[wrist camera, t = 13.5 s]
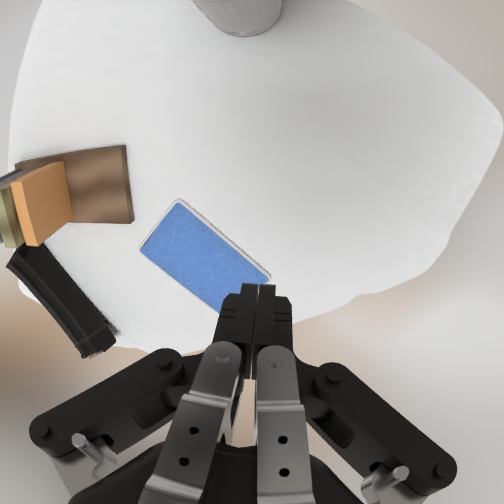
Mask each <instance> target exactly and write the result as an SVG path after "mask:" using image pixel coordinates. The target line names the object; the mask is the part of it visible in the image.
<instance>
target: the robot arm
mask: <svg viewBox="0 0 504 504" xmlns="http://www.w3.org/2000/svg"><path fill="white" fill-rule="evenodd" d="M191 1H192V2H193V3H194V4H195V5H196V6H197V7H198V8H199V9H200V10H201V11H202V12H203V13H204V14H205V15H206V16H207V17H208V18H209V19H210V20H211V21H212V23H213V24H214V25H215V26H216V27H217V28H218V29H220V30H221V31H222V32H225V33H227V34H229V35H233V36H240V37H247V36H254V35H258V34H260V33H263V32H265V31H267V30H268V29H270V28H271V27H272V26H273V25H274V24H275V23H276V22H277V20H278V19H279V17H280V14H281V11H282V0H191ZM275 290H276V285H270V284H260V285H259V294H258V284H254V283H242V286H241V291H240V294H237V293H229V294H228V295H227V296H226V297H225V299H224V300H223V302H222V306H221V310H220V314H219V318H218V322H217V326H216V330H215V334H214V337H213V341H212V344H211V345H209V346H208V347H207V348H206V350H205V351H204V352H203V353H200V354H197V355H192V356H184V357H181V355H180V354H179V353H178V352H177V351H175V350H173V349H169V348H162V349H158V350H156V351H154V352H152V353H150V354H149V355H147V356H145V357H144V358H142V359H140V360H139V361H137V362H135V363H133V364H132V365H130V366H128V367H126V368H125V369H123V370H121V371H120V372H118V373H116V374H115V375H113V376H111V377H109V378H107V379H105V380H104V381H102V382H100V383H98V384H97V385H95V386H93V387H91V388H89V389H88V390H86V391H84V392H82V393H80V394H78V395H77V396H75V397H73V398H71V399H69V400H67V401H66V402H64V403H62V404H60V405H58V406H57V407H54V408H52V409H51V410H49V411H47V412H45V413H43V414H41V415H39V416H37V417H36V418H35V419H34V420H33V421H32V422H31V425H30V428H29V434H30V438H31V440H32V441H33V443H34V444H35V445H37V446H38V447H39V448H41V449H42V450H43V451H44V452H45V453H46V454H48V455H49V456H50V458H51V459H52V461H53V463H54V465H55V467H56V469H57V471H58V473H59V475H60V477H61V479H62V480H63V482H64V484H65V486H66V488H67V489H68V491H69V492H70V494H71V496H72V498H71V499H70V501H69V503H68V504H364V503H363V502H361V501H360V499H359V498H358V497H356V495H354V493H352V492H351V490H350V489H349V488H348V487H347V486H345V484H344V483H343V482H342V481H341V480H340V479H339V478H338V477H337V476H336V475H335V474H334V473H333V472H332V471H331V469H330V468H329V467H328V466H327V465H326V464H324V463H323V462H322V461H321V460H319V459H318V458H316V457H314V456H312V455H310V454H309V447H308V438H307V429H306V428H307V427H306V421H307V422H308V424H309V425H310V426H312V428H313V429H314V430H315V431H316V432H317V433H318V434H319V435H320V436H321V437H322V438H323V439H324V440H325V441H326V442H327V443H328V444H329V445H330V446H331V447H332V448H333V449H334V450H335V451H336V452H337V453H338V454H339V455H340V456H341V457H342V458H343V459H344V460H345V461H346V462H347V463H348V464H349V465H350V466H351V467H352V468H353V469H355V470H356V471H357V472H358V473H359V474H360V475H361V476H362V477H363V478H364V480H363V481H362V484H361V493H362V495H363V497H364V498H365V499H366V501H367V503H368V504H422V503H423V502H424V500H426V498H427V497H428V496H429V495H431V494H433V493H435V492H437V491H439V490H441V489H443V488H445V487H447V486H449V485H450V484H451V483H452V482H453V480H454V479H455V477H456V474H457V465H456V462H455V460H454V458H453V457H452V456H451V455H449V454H448V453H447V452H445V451H444V450H443V449H442V448H441V447H439V446H438V445H437V444H436V443H435V442H433V441H432V440H431V439H430V438H428V437H427V436H426V435H425V434H424V433H422V432H421V431H420V430H419V429H418V428H416V427H415V426H414V425H413V424H412V423H410V422H409V421H408V420H407V419H406V418H405V417H403V416H402V415H401V414H400V413H399V412H397V411H396V410H395V409H394V408H393V407H391V406H390V405H389V404H388V403H387V402H386V401H385V400H383V399H382V398H381V397H380V396H379V395H378V394H376V393H375V392H374V391H373V390H372V389H371V388H369V387H368V386H367V385H366V384H365V383H364V382H362V381H361V380H360V379H359V378H358V377H357V376H356V375H354V374H353V373H352V372H351V371H350V370H349V369H348V368H346V367H345V366H343V365H341V364H339V363H334V362H333V363H332V362H330V363H325V364H323V365H321V366H320V367H315V366H312V365H308V364H306V363H304V362H302V361H300V360H299V359H298V358H297V357H296V355H295V354H294V352H293V337H292V305H291V303H290V301H289V300H288V298H287V297H281V296H275ZM251 365H252V379H254V380H256V382H255V400H254V446H249V447H242V448H238V447H234V446H231V443H232V436H233V430H234V426H235V421H236V417H237V413H238V409H239V404H240V400H241V395H242V391H243V387H244V379H250V373H251ZM171 420H173V421H172V424H171V426H170V429H169V432H168V434H167V437H166V440H165V441H163V442H161V443H158V444H156V445H154V446H152V447H150V448H149V449H147V450H146V451H144V452H143V453H141V454H140V455H138V456H137V457H135V458H134V459H132V460H131V461H129V462H128V463H126V464H125V465H123V466H122V467H120V468H118V469H117V470H115V471H114V472H112V473H110V472H111V471H112V470H113V469H114V468H115V466H116V464H117V456H116V455H117V454H118V453H121V452H122V451H124V450H125V449H127V448H129V447H130V446H132V445H134V444H135V443H137V442H139V441H140V440H142V439H143V438H145V437H147V436H148V435H150V434H151V433H153V432H154V431H156V430H158V429H159V428H160V427H162V426H164V425H165V424H166V423H168V422H170V421H171ZM108 473H110V474H109V475H108Z"/></svg>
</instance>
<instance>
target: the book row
mask: <svg viewBox="0 0 504 504" xmlns="http://www.w3.org/2000/svg"><path fill="white" fill-rule="evenodd" d="M60 161H64V167H65V174H66V180H67V186H68V191H69V196H70V201H71V206H72V211H73V216H74V218H73V219H71V220H70V221H69V222H73V223H114V224H131V223H132V222H133V221H134V215H133V208H132V201H131V194H130V186H129V178H128V168H127V158H126V147H125V145H123V146H114V147H105V148H97V149H89V150H82V151H76V152H69V153H63V154H58V155H52V156H47V157H42V158H37V159H32V160H27V161H23V162H19V163H17V164H15V170H14V171H12V172H10V173H8V174H6V175H4V176H2V177H0V243H2V242H4V244H5V247H8V248H16V249H17V248H18V247H19V246H21V245H22V244H23V243H24V242H25V238H24V235H23V232H22V229H21V225H20V222H19V218H18V214H17V210H16V206H15V202H14V198H13V193H12V189H11V184H10V183H11V182H13V181H15V180H17V179H19V178H21V177H23V176H25V175H27V174H29V173H31V172H33V171H35V170H37V169H39V168H41V167H43V166H46V165H48V164H50V163H53V162H60Z"/></svg>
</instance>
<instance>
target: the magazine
mask: <svg viewBox="0 0 504 504" xmlns="http://www.w3.org/2000/svg"><path fill="white" fill-rule="evenodd" d="M6 268H8V269H9V270H11V271H12V272H13V273H14V274H15V275H16V276H17V277H18V278H19V279H20V280H21V281H22V282H23V283H24V284H25V285H26V286H27V287H28V289H29V290H30V291H31V292H32V293H33V295H34V296H35V297H36V298H37V299H38V300H39V301H40V302H41V304H42V305H43V306H44V307H45V308H46V309H47V310H48V312H49V313H50V314H51V315H52V316H53V318H54V319H55V320H56V321H57V323H58V324H59V325H60V326H61V328H62V329H63V330H64V332H65V333H66V334H67V335H68V337H69V338H70V339H71V341H72V342H73V344H74V345H75V347H76V348H77V349H78V350H79V351H80V353H81V357H82V359H84V358H87V357H88V356H89V355H91V356H90V357H89V359H91V358H93V357H95V356H97V355H98V354H100V353H102V352H105V351H106V350H108V349H109V348H110V347H111V346H112V345H113V344H115V343H116V338H115V337H114V335H113V334H112V332H111V331H110V329H109V328H108V326H107V324H109V323H108V322H106V323H105V322H104V320H103V319H102V318H101V316H100V315H99V314H98V312H97V311H96V309H95V308H94V307H93V305H92V304H91V302H90V301H89V299H88V298H87V297H86V295H85V294H84V293H83V292H82V290H81V289H80V288H79V287H78V285H77V284H76V283H75V282H74V281H73V279H72V278H71V277H70V276H69V275H68V273H67V272H66V271H65V270H64V269H63V267H62V266H61V265H60V264H59V263H58V262H57V260H56V259H55V258H54V257H53V256H52V255H51V254H50V253H49V252H48V251H47V249H46V248H45V247H44V246H43V245H42V244H40V245H39V246H28V245H26V242H24V243H23V244H22V245H21V246H19V247H18V248H17V249H16V251H15V252H14V254H13V256H12V258H11V259H10V261H9V263H8V264H7V265H6Z"/></svg>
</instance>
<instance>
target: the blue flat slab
mask: <svg viewBox="0 0 504 504" xmlns="http://www.w3.org/2000/svg"><path fill="white" fill-rule="evenodd" d="M139 251H140V253H141V254H142V255H144V256H145V257H146V258H147V259H148V260H150V261H151V262H152V263H153V264H155V265H156V266H157V267H158V268H160V269H161V270H162V271H163V272H165V273H166V274H167V275H168V276H170V277H171V278H172V279H174V280H175V281H176V282H177V283H179V284H180V285H181V286H183V287H184V288H185V289H186V290H188V291H189V292H190V293H192V294H193V295H194V296H195V297H197V298H198V299H199V300H201V301H202V302H203V303H205V304H206V305H207V306H209V307H210V308H212V309H213V310H214V311H216V312H217V313H218V314H220V310H221V306H222V302H223V300H224V299H225V297H226V296H227V295H228V294H229V293H237V294H240V291H241V286H242V283H254V284H258V290H259V285H260V284H267V283H269V282H270V280H271V275H270V274H269V273H268V272H266V271H265V270H264V269H263V268H262V267H260V266H259V265H258V264H257V263H256V262H255V261H253V260H252V259H251V258H250V257H249V256H247V255H246V254H245V253H244V252H243V251H242V250H240V249H239V248H238V247H237V246H236V245H235V244H233V243H232V242H231V241H230V240H229V239H228V238H226V237H225V236H224V235H223V234H222V233H221V232H219V231H218V230H217V229H216V228H215V227H214V226H212V225H211V224H210V223H209V222H208V221H207V220H206V219H205V218H204V217H202V216H201V215H200V214H199V213H198V212H197V211H195V210H194V209H193V208H192V207H191V206H190V205H188V204H187V203H186V202H185V201H184V200H182V199H180V198H178V199H176V200H175V201H174V202H173V203H172V205H171V206H170V207H169V208H168V210H167V211H166V212H165V213H164V215H163V216H162V217H161V219H160V220H159V221H158V222H157V224H156V225H155V226H154V227H153V229H152V230H151V231H150V233H149V234H148V235H147V237H146V238H145V239H144V240H143V242H142V243H141V244H140V246H139Z"/></svg>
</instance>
